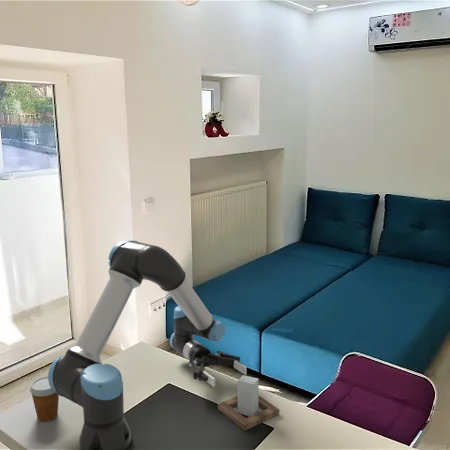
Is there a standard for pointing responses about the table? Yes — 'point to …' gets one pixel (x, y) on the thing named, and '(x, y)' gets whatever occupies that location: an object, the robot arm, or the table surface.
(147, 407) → the table surface
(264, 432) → the table surface
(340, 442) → the table surface
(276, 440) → the table surface
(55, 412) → the disposable coffee cup
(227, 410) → the square wooden frame
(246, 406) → the skincare box
